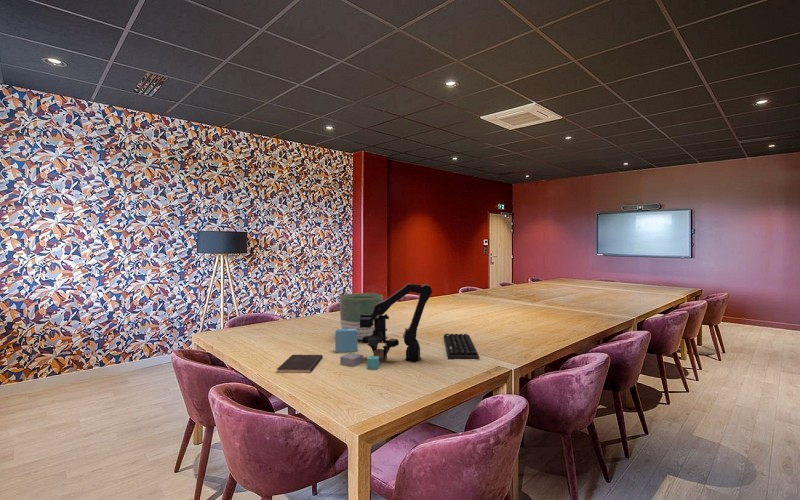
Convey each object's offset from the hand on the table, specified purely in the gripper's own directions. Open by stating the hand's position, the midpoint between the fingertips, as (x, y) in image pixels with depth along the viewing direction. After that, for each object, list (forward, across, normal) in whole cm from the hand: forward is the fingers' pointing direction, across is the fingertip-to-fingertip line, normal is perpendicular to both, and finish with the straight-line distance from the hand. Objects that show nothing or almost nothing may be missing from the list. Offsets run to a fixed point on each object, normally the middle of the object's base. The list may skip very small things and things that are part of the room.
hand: (380, 357), depth 197 cm
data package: (+1, -25, +6) cm, 26 cm away
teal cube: (+1, +3, -12) cm, 12 cm away
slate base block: (+1, -10, -11) cm, 15 cm away
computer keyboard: (+2, +29, +40) cm, 49 cm away
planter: (+1, -33, +34) cm, 47 cm away
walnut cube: (+1, 0, 0) cm, 1 cm away
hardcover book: (+2, -31, -24) cm, 39 cm away
